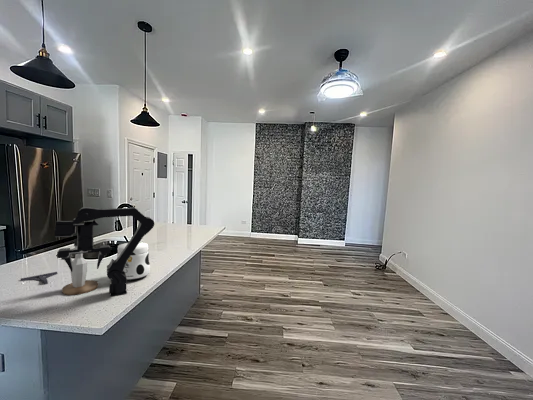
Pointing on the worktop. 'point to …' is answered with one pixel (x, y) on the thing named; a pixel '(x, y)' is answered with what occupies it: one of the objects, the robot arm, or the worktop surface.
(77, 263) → the low poly bottle
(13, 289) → the worktop surface
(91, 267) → the worktop surface
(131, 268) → the milk container
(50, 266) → the worktop surface
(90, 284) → the walnut board
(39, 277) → the bracket
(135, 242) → the robot arm
